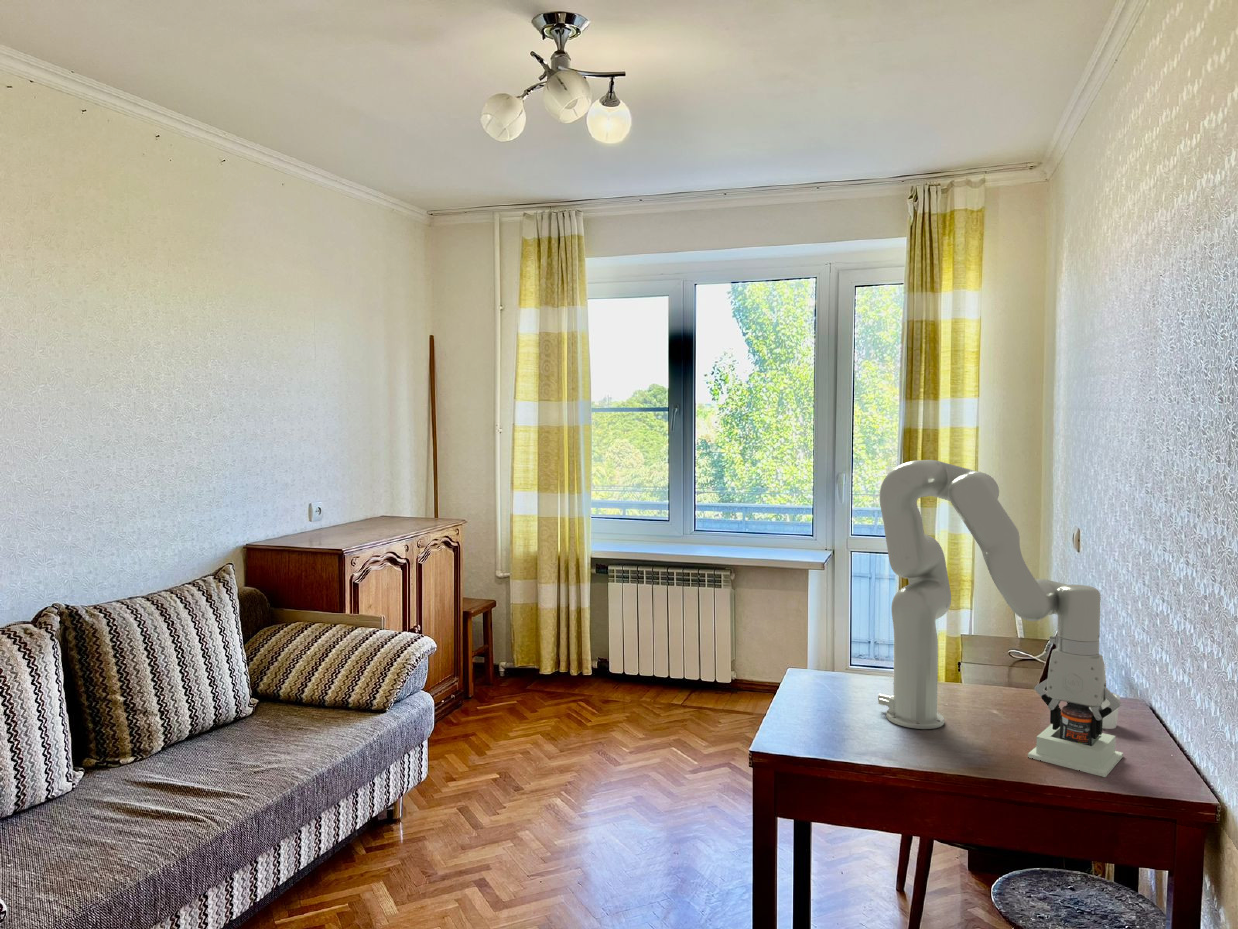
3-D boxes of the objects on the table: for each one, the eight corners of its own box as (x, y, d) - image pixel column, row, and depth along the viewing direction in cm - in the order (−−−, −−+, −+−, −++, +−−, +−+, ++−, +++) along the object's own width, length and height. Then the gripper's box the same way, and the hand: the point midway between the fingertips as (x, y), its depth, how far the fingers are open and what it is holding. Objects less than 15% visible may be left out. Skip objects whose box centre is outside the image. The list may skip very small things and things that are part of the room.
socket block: (1027, 757, 167) (1028, 736, 167) (1049, 738, 178) (1049, 719, 177) (1105, 777, 158) (1105, 755, 158) (1123, 756, 168) (1123, 736, 168)
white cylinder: (1112, 732, 182) (1113, 701, 181) (1079, 723, 187) (1080, 693, 187) (1124, 725, 186) (1125, 694, 186) (1091, 717, 191) (1092, 687, 191)
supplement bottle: (1063, 757, 165) (1066, 702, 165) (1055, 745, 171) (1057, 692, 171) (1096, 760, 164) (1099, 705, 163) (1086, 748, 170) (1089, 695, 169)
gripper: (1026, 642, 170) (1024, 726, 171) (1122, 658, 158) (1119, 749, 159) (1038, 635, 175) (1036, 717, 176) (1131, 650, 164) (1128, 738, 164)
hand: (1075, 732), depth 168 cm, fingers open, 6 cm apart
